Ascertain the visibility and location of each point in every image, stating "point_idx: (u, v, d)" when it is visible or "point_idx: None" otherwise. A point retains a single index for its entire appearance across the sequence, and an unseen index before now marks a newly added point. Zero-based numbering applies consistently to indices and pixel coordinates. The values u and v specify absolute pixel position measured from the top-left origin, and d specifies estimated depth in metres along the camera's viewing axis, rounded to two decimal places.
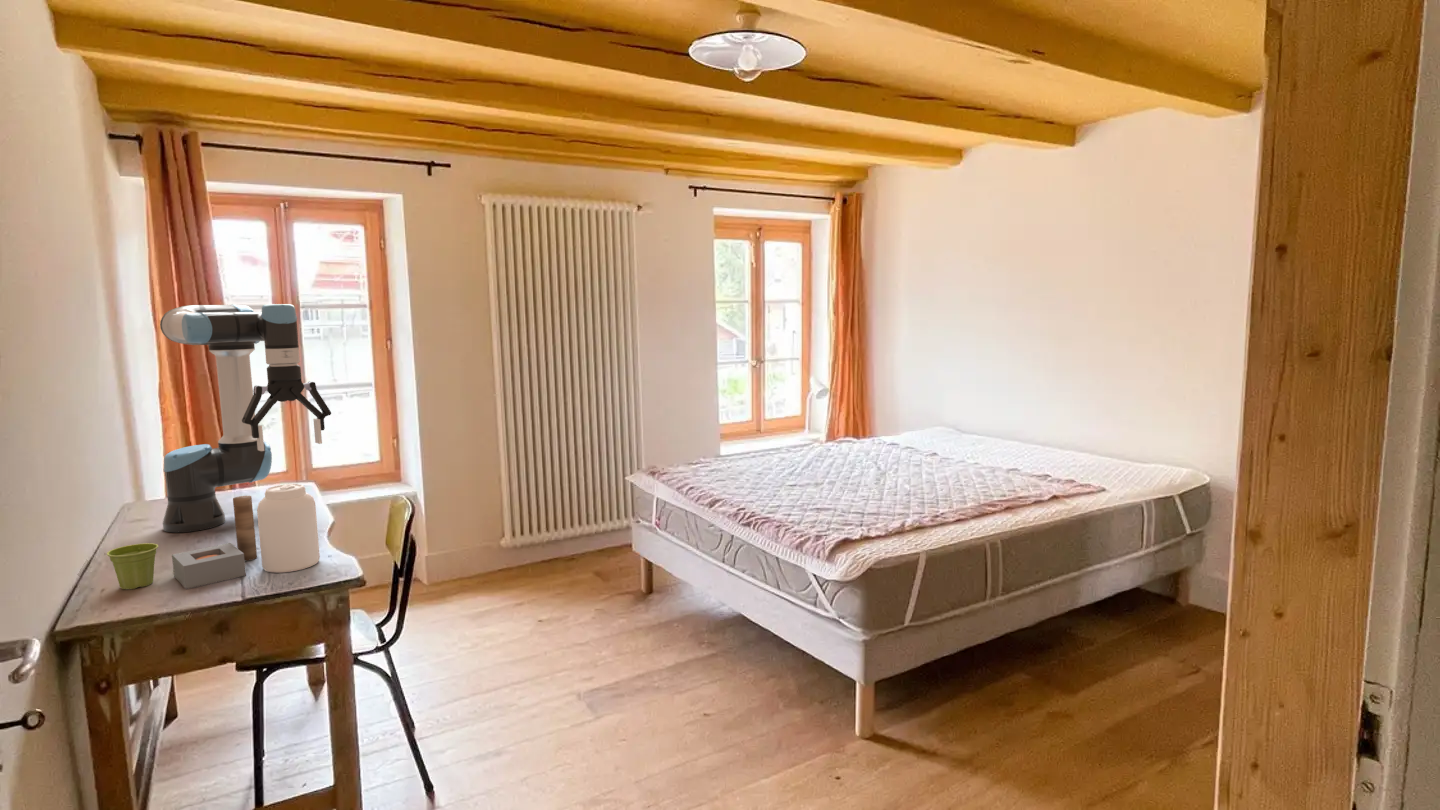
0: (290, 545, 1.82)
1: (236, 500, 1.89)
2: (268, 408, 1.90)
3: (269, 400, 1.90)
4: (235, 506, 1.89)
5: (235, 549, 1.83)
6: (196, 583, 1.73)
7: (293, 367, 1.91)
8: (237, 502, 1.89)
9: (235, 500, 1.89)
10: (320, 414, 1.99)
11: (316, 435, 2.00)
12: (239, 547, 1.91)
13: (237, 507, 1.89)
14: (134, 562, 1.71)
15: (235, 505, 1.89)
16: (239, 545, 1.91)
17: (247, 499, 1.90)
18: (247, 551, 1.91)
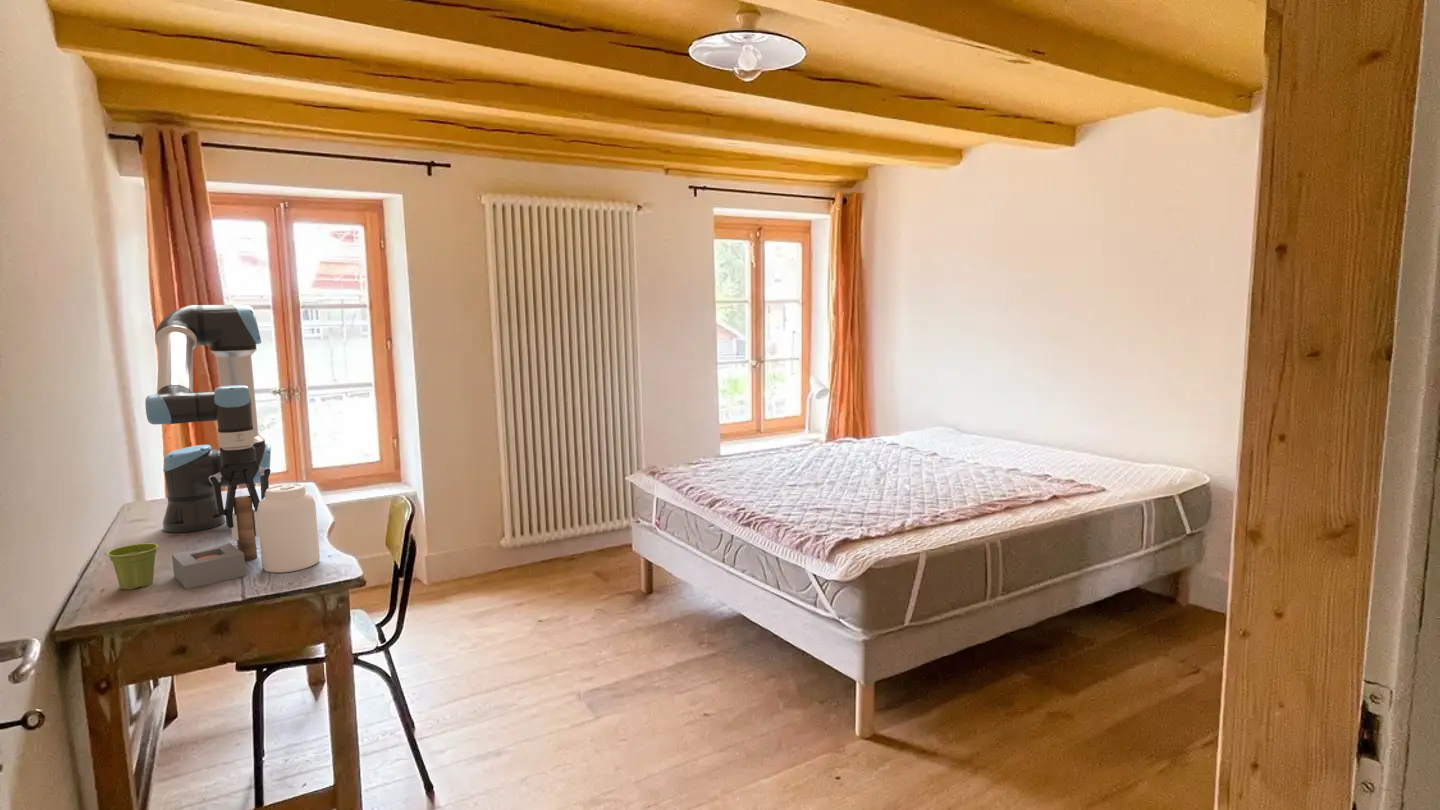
0: (290, 545, 1.82)
1: (236, 500, 1.89)
2: (233, 495, 1.88)
3: (229, 487, 1.88)
4: (235, 506, 1.89)
5: (235, 549, 1.83)
6: (196, 583, 1.73)
7: (247, 450, 1.88)
8: (237, 502, 1.89)
9: (235, 500, 1.89)
10: None
11: None
12: (239, 547, 1.91)
13: (238, 507, 1.89)
14: (134, 562, 1.71)
15: (235, 505, 1.89)
16: (239, 545, 1.91)
17: (247, 499, 1.90)
18: (247, 551, 1.91)
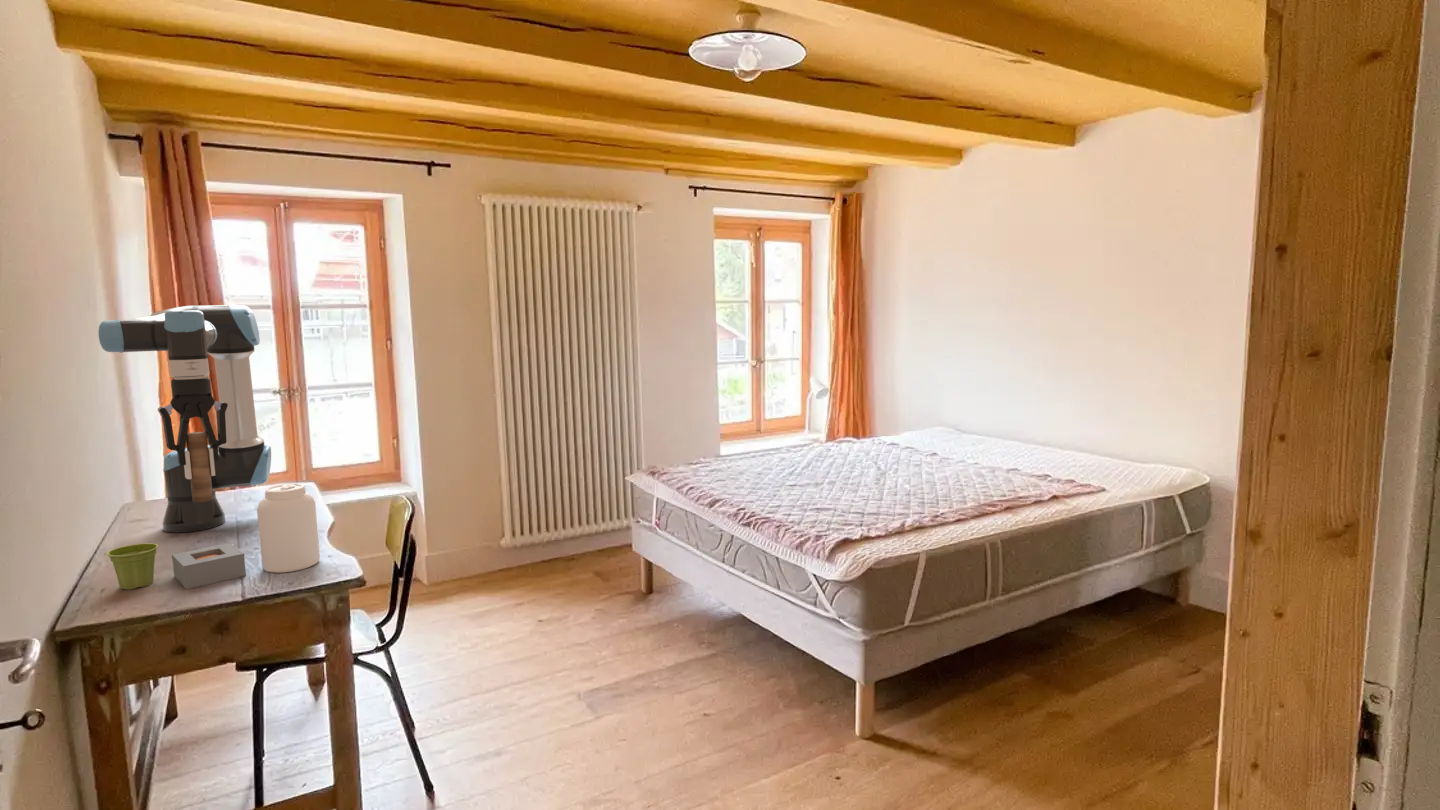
0: (290, 545, 1.82)
1: (189, 435, 1.74)
2: (185, 429, 1.73)
3: (181, 420, 1.73)
4: (188, 442, 1.74)
5: (235, 549, 1.83)
6: (196, 583, 1.73)
7: (200, 380, 1.73)
8: (190, 438, 1.74)
9: (188, 435, 1.74)
10: (214, 442, 1.78)
11: None
12: (193, 487, 1.76)
13: (191, 443, 1.74)
14: (134, 562, 1.71)
15: (188, 441, 1.74)
16: (193, 485, 1.76)
17: (201, 435, 1.75)
18: (201, 491, 1.76)
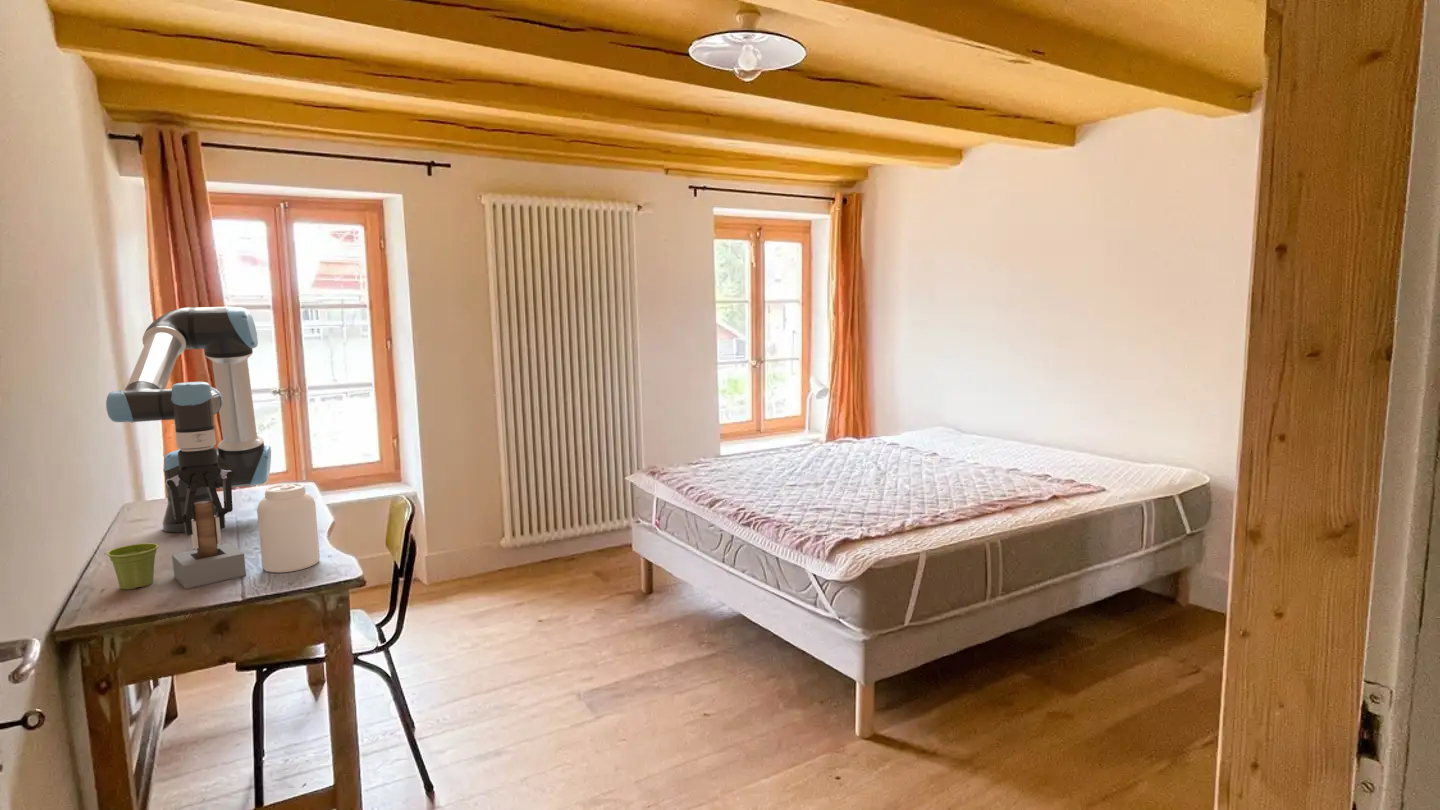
0: (290, 545, 1.82)
1: (196, 506, 1.76)
2: (192, 499, 1.75)
3: (188, 491, 1.75)
4: (195, 512, 1.76)
5: (235, 549, 1.83)
6: (196, 583, 1.73)
7: (207, 451, 1.75)
8: (197, 509, 1.76)
9: (195, 506, 1.76)
10: (221, 511, 1.80)
11: None
12: (199, 556, 1.78)
13: (197, 513, 1.76)
14: (134, 562, 1.71)
15: (195, 511, 1.76)
16: (199, 554, 1.78)
17: (208, 505, 1.77)
18: None
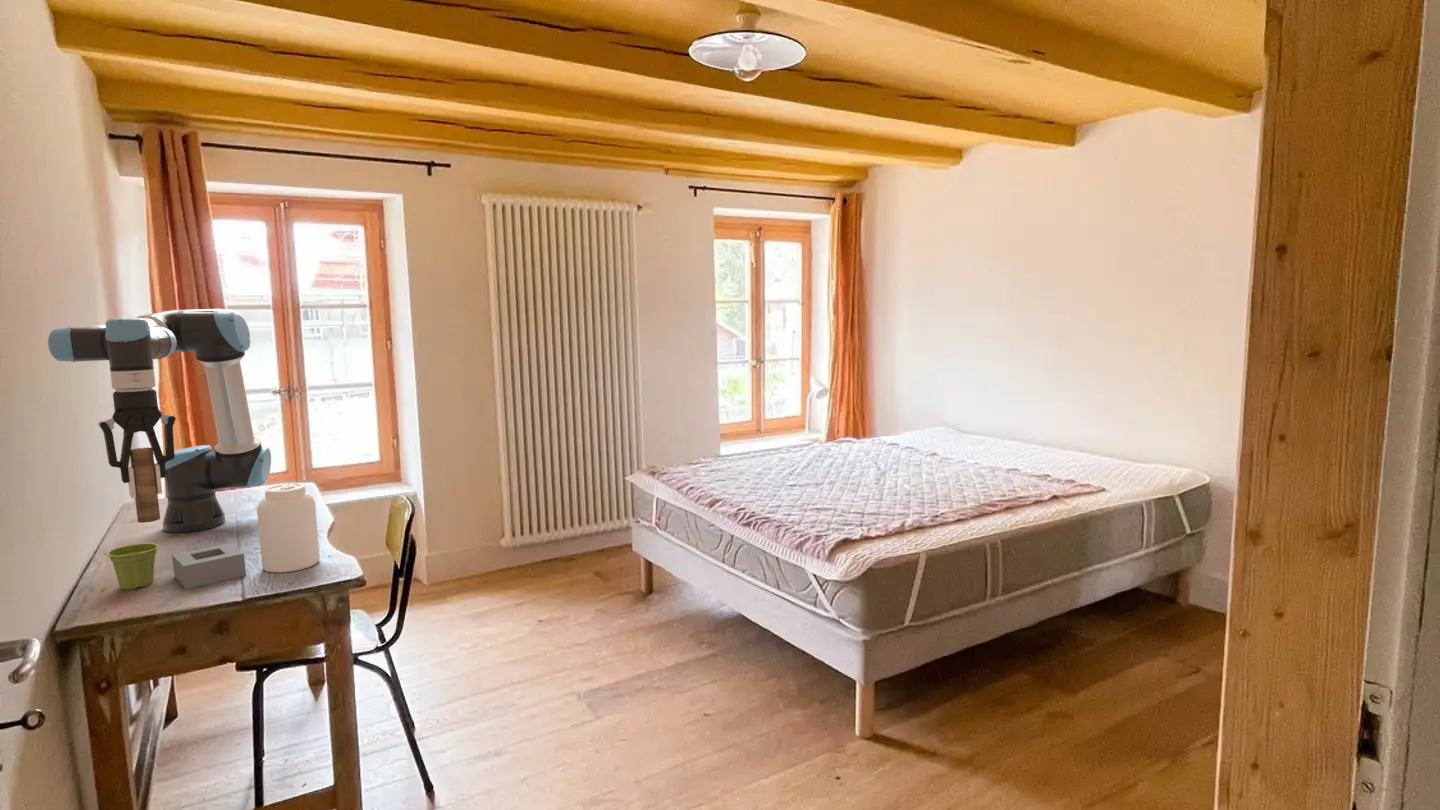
0: (290, 545, 1.82)
1: (133, 451, 1.64)
2: (129, 444, 1.63)
3: (125, 435, 1.63)
4: (132, 458, 1.64)
5: (235, 549, 1.83)
6: (196, 583, 1.73)
7: (144, 392, 1.62)
8: (134, 454, 1.64)
9: (132, 451, 1.64)
10: (161, 458, 1.67)
11: None
12: (137, 506, 1.65)
13: (135, 459, 1.64)
14: (134, 562, 1.71)
15: (132, 457, 1.64)
16: (137, 504, 1.65)
17: (146, 451, 1.65)
18: (146, 510, 1.65)
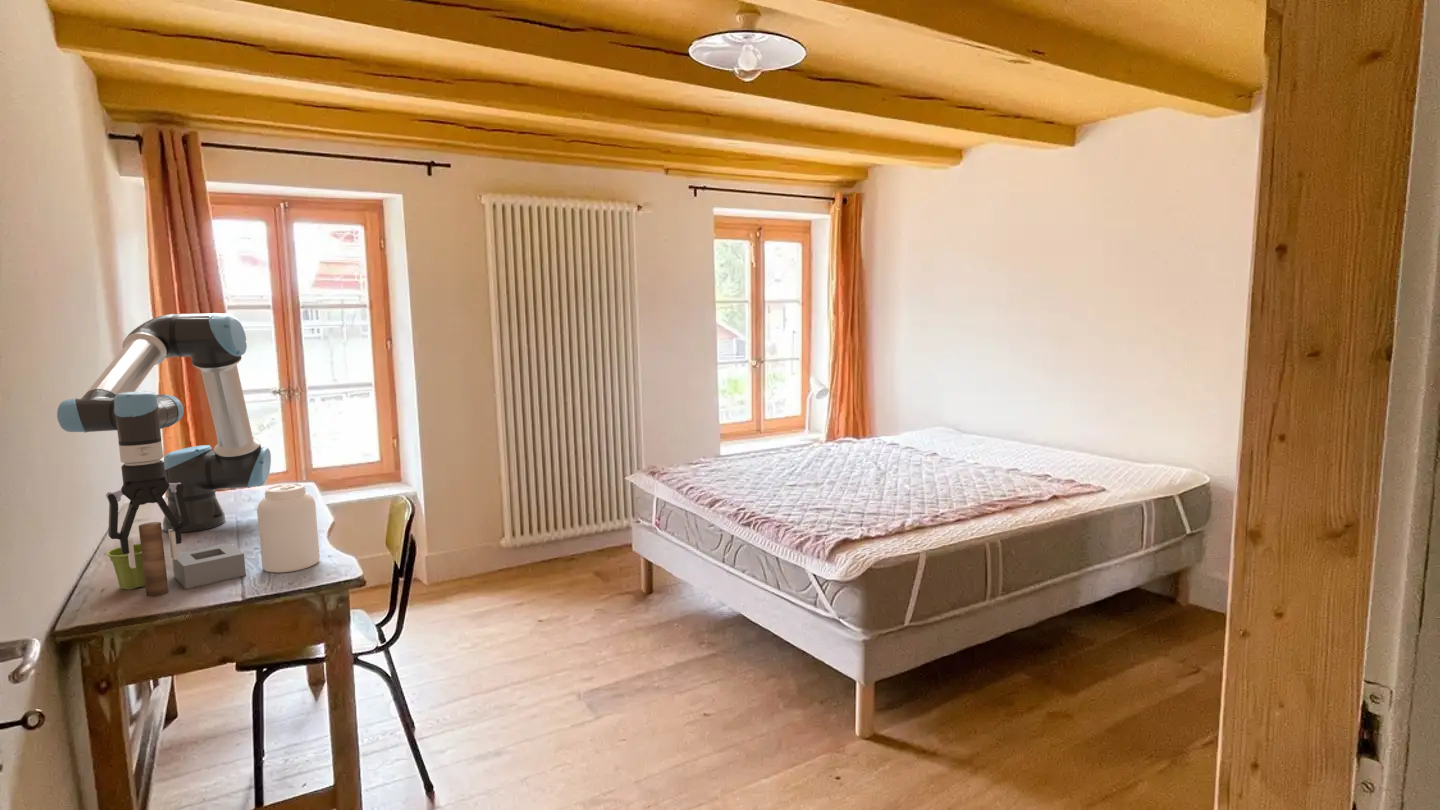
0: (290, 545, 1.82)
1: (142, 528, 1.66)
2: (132, 516, 1.64)
3: (130, 507, 1.65)
4: (141, 534, 1.66)
5: (235, 549, 1.83)
6: (196, 583, 1.73)
7: (153, 465, 1.65)
8: (143, 530, 1.66)
9: (141, 528, 1.66)
10: (176, 525, 1.70)
11: (171, 549, 1.71)
12: (146, 581, 1.67)
13: (144, 535, 1.66)
14: None
15: (141, 533, 1.66)
16: (146, 579, 1.67)
17: (155, 526, 1.67)
18: (155, 585, 1.68)
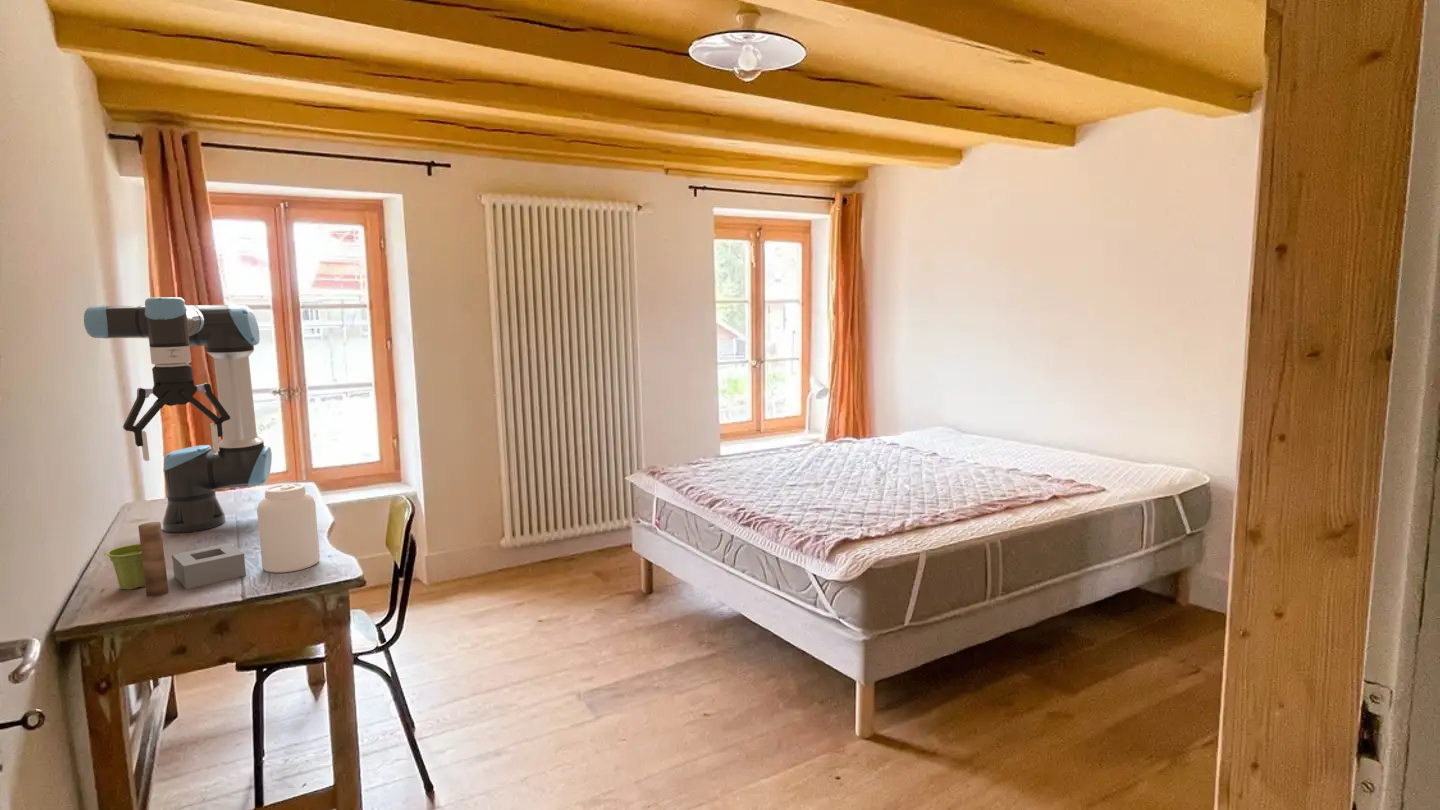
0: (290, 545, 1.82)
1: (142, 528, 1.66)
2: (153, 413, 1.71)
3: (155, 404, 1.72)
4: (141, 534, 1.66)
5: (235, 549, 1.83)
6: (196, 583, 1.73)
7: (182, 368, 1.72)
8: (143, 530, 1.66)
9: (140, 528, 1.66)
10: (217, 419, 1.80)
11: (213, 442, 1.81)
12: (146, 581, 1.67)
13: (143, 535, 1.66)
14: (134, 562, 1.71)
15: (140, 533, 1.66)
16: (146, 579, 1.67)
17: (155, 526, 1.67)
18: (155, 585, 1.68)
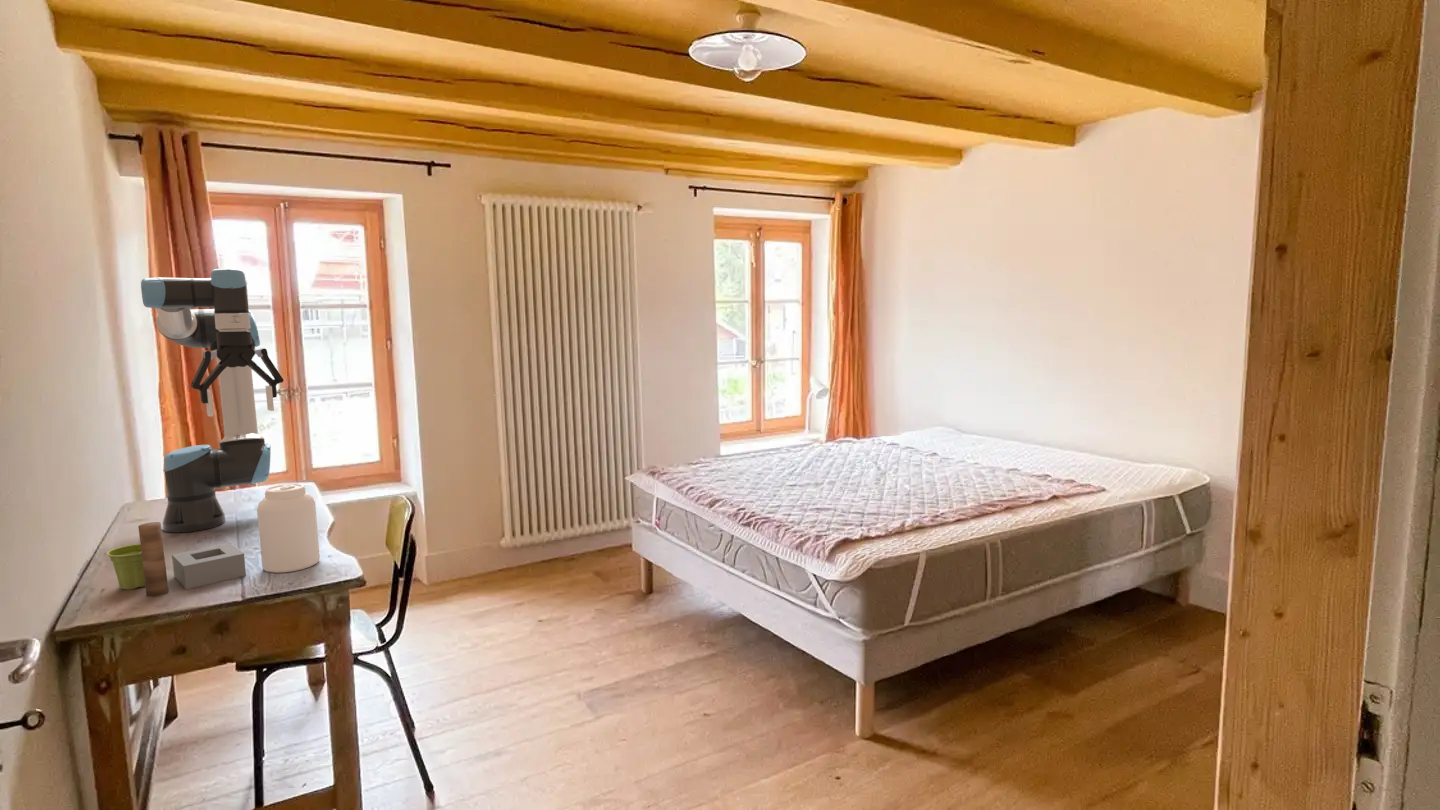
0: (290, 545, 1.82)
1: (141, 528, 1.66)
2: (217, 373, 1.89)
3: (218, 365, 1.90)
4: (141, 535, 1.66)
5: (235, 549, 1.83)
6: (196, 583, 1.73)
7: (243, 332, 1.90)
8: (143, 531, 1.66)
9: (140, 528, 1.66)
10: (272, 381, 1.98)
11: (268, 402, 1.99)
12: (146, 581, 1.67)
13: (143, 536, 1.66)
14: (134, 562, 1.71)
15: (140, 533, 1.66)
16: (146, 579, 1.67)
17: (155, 526, 1.67)
18: (155, 585, 1.68)
